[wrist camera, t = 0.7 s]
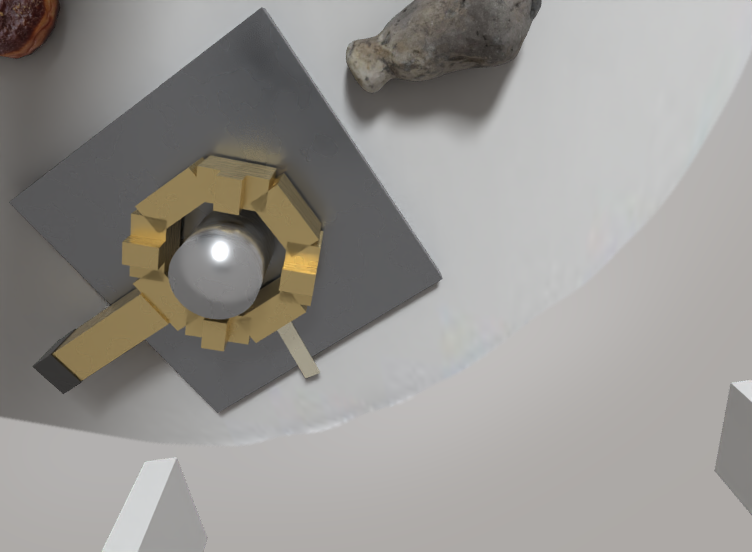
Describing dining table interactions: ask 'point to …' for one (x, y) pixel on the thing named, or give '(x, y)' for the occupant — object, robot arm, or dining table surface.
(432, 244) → the dining table surface
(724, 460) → the robot arm
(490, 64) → the stone
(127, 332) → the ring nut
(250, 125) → the base plate
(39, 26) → the pastry
